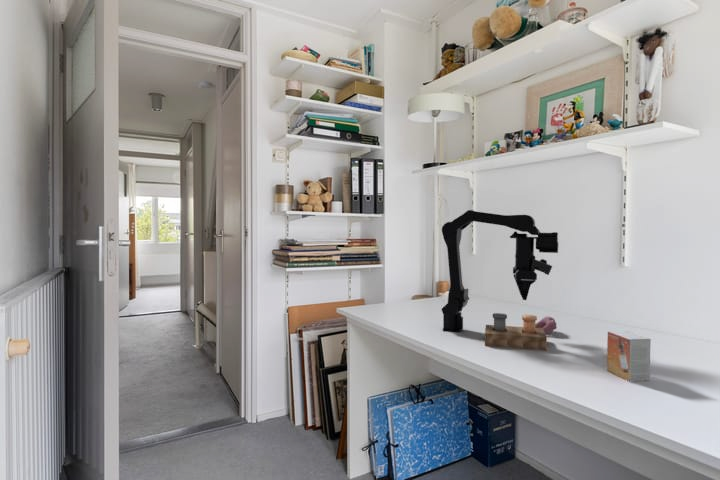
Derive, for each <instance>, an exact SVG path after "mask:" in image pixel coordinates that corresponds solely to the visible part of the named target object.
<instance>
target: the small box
mask: <svg viewBox="0 0 720 480" xmlns="http://www.w3.org/2000/svg"><path fill="white" fill-rule="evenodd" d="M651 341H652V339H651V338H649V337H646V336H645V337H644V336H643V335H639V334H636V333H634V332H630V331H628V330H613V331H612V330H610V331H609V330H608V331H607V347H606V350H607V351H606V354H607V355H606V371H607V372H609V373H612V374H614V375H615V376H618V377H619V378H621V379H623V380H625V381H626V380H627V381H626V382H628V381H629V383H631V382H630V381H637V382H645V381H644V380H649V381H650V380H651V379H650V375H651Z"/></svg>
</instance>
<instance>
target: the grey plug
mask: <svg viewBox="0 0 720 480" xmlns="http://www.w3.org/2000/svg"><path fill="white" fill-rule="evenodd" d="M492 318H493V325H494V331H502V332H506V326H507V325H506V319H508V314H506V313H503V312H497V313H496V312H495V313H492Z"/></svg>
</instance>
